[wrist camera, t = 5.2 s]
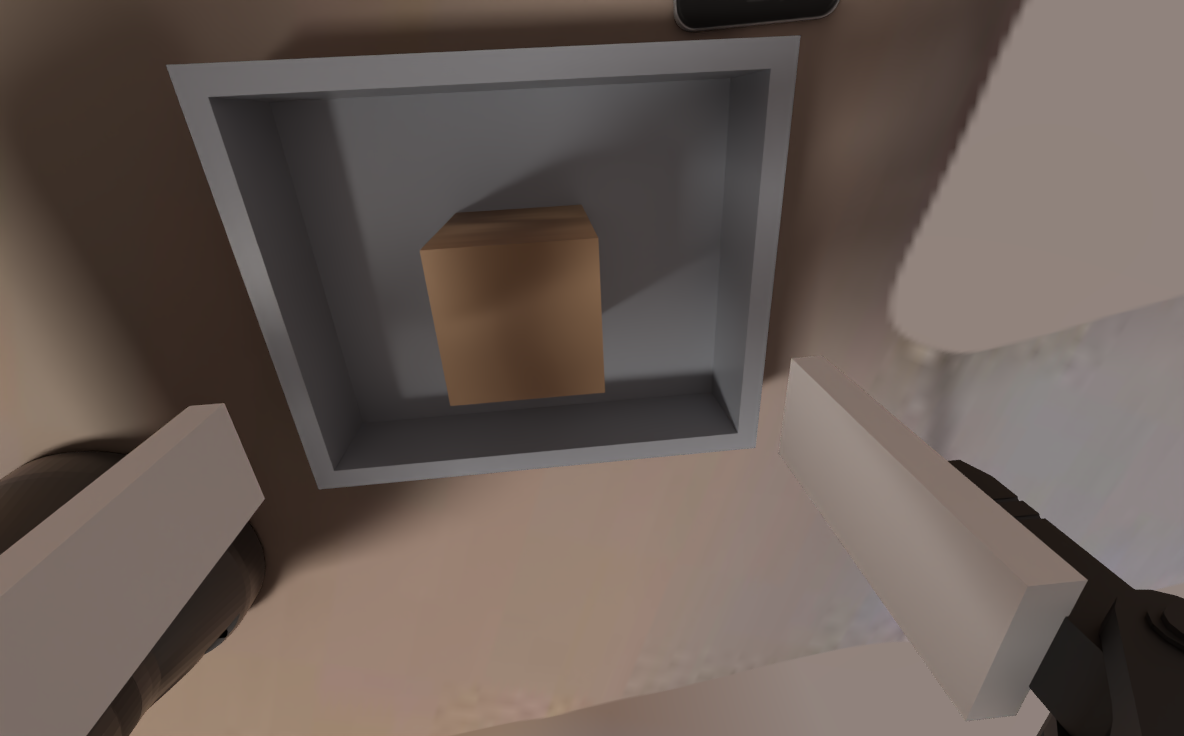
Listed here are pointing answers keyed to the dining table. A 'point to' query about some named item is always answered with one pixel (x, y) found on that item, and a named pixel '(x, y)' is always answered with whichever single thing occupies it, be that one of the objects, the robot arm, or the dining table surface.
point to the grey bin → (499, 182)
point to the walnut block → (517, 304)
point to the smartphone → (746, 12)
